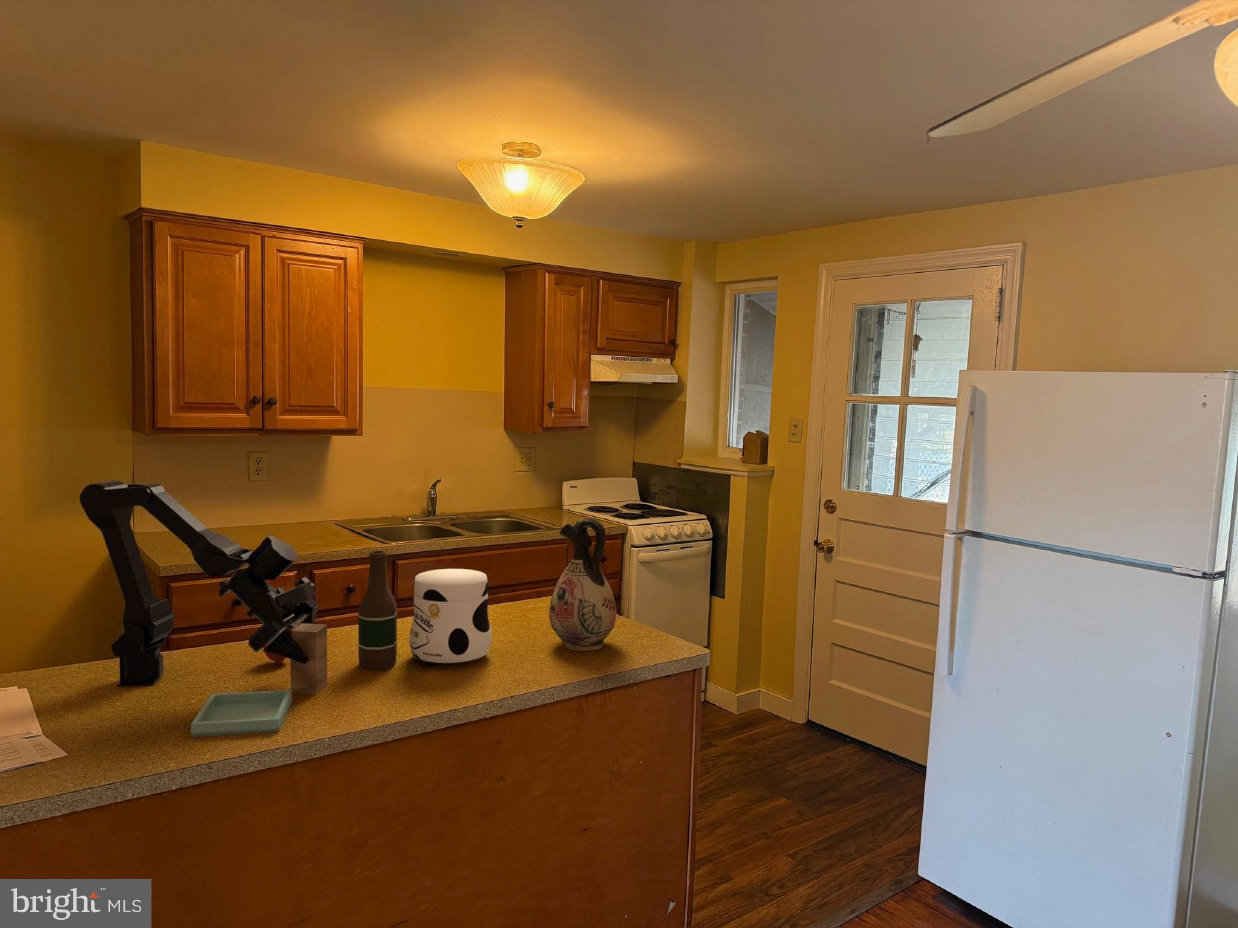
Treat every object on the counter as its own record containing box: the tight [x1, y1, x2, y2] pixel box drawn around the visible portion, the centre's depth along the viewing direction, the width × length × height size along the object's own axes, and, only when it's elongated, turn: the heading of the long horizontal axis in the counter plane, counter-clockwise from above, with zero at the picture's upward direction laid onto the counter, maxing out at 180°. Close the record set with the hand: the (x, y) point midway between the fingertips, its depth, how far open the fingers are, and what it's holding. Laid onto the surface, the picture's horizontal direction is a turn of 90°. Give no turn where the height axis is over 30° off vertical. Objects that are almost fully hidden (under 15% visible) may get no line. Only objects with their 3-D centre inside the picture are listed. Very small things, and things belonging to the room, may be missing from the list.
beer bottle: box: [357, 550, 398, 671], centre depth 173 cm, size 8×8×24 cm
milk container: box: [408, 568, 493, 667], centre depth 178 cm, size 17×17×18 cm
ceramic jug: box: [548, 518, 617, 652], centre depth 189 cm, size 17×15×30 cm
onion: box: [263, 644, 287, 664], centre depth 173 cm, size 6×6×8 cm
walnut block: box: [289, 623, 328, 695], centre depth 159 cm, size 5×5×12 cm
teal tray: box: [190, 689, 293, 738], centre depth 145 cm, size 14×14×2 cm
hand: (316, 655), depth 159 cm, fingers open, 8 cm apart
